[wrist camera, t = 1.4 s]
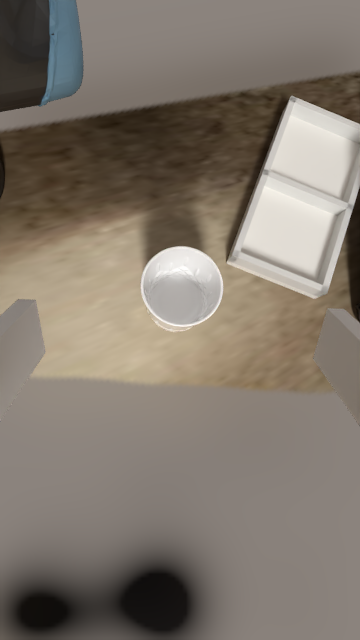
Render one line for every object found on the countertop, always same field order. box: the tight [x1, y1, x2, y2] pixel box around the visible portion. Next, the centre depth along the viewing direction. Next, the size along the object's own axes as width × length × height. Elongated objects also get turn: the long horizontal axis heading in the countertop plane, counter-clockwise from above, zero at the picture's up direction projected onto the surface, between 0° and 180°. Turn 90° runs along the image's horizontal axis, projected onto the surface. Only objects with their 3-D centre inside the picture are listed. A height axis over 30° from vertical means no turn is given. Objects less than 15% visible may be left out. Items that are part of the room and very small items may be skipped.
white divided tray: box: [226, 96, 360, 299], centre depth 42 cm, size 13×24×3 cm, turn 159°
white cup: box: [141, 246, 223, 332], centre depth 35 cm, size 8×8×10 cm
